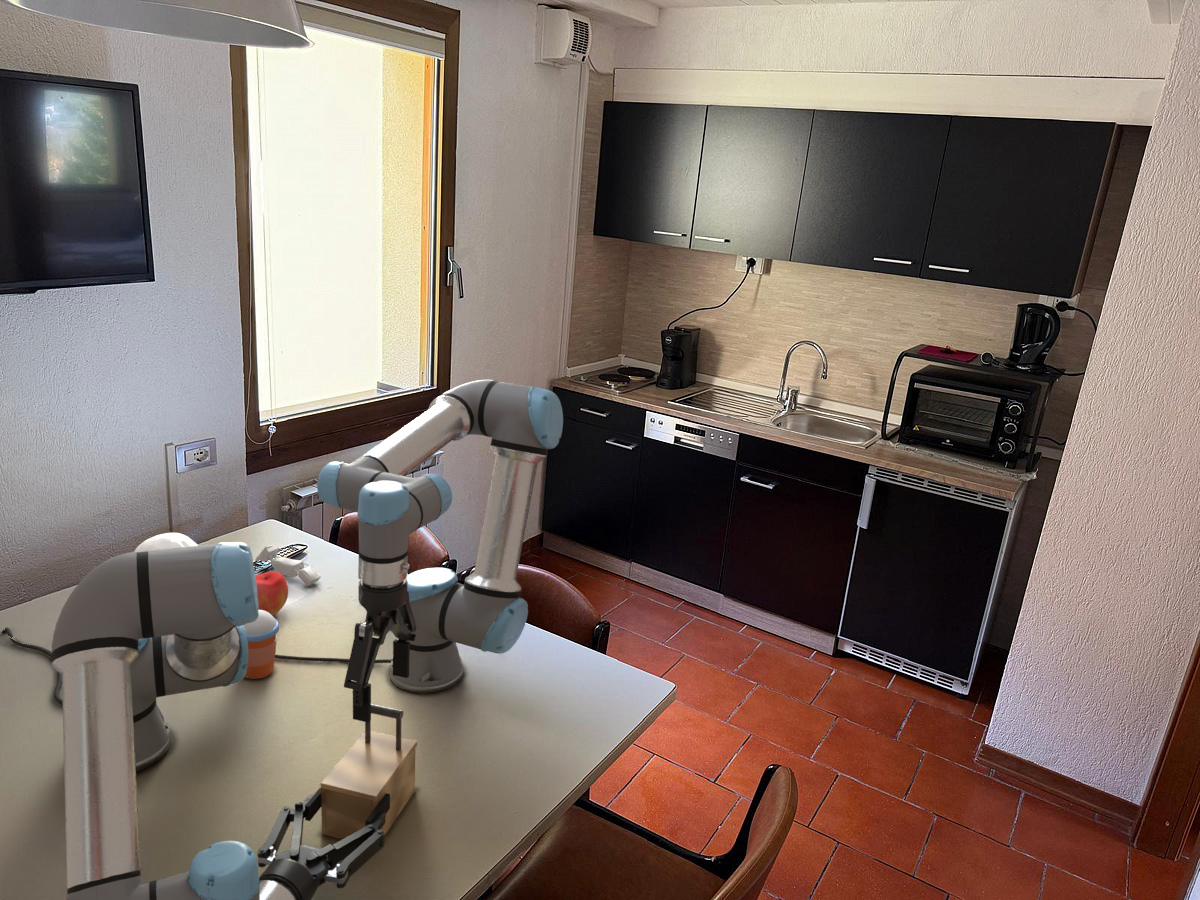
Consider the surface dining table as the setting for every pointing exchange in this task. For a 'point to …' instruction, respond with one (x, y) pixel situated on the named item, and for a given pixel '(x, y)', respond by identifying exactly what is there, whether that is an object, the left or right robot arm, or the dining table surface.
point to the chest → (365, 804)
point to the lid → (371, 760)
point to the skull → (165, 542)
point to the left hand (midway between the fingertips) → (358, 793)
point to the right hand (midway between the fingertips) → (382, 696)
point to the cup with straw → (261, 645)
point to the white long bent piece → (288, 565)
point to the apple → (271, 591)
